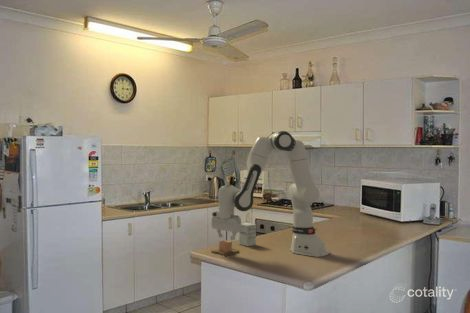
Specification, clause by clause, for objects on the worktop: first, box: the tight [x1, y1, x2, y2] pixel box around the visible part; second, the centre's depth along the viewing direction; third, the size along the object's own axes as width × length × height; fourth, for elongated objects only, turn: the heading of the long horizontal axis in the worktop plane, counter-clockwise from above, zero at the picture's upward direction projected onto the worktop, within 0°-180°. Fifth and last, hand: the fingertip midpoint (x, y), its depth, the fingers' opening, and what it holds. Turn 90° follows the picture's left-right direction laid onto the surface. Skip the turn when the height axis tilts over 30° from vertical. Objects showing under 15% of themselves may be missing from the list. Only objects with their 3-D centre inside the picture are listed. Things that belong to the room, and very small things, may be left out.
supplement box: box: [238, 222, 257, 247], centre depth 248 cm, size 7×7×13 cm
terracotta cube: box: [218, 240, 233, 252], centre depth 229 cm, size 5×5×5 cm
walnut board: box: [211, 248, 240, 257], centre depth 229 cm, size 11×11×1 cm
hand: (226, 238), depth 229 cm, fingers open, 8 cm apart
